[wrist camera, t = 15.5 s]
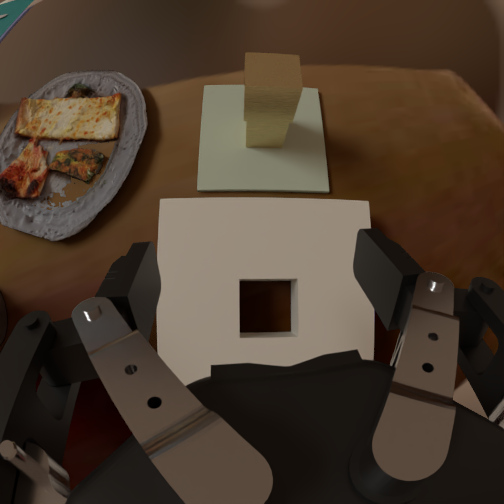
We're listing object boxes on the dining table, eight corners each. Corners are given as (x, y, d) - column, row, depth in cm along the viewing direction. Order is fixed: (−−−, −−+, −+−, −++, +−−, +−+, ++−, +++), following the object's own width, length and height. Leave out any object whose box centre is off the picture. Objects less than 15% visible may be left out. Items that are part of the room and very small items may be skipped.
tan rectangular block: (242, 147, 33) (244, 85, 22) (243, 117, 33) (245, 52, 22) (284, 148, 33) (302, 88, 22) (283, 118, 33) (299, 55, 22)
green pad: (197, 191, 32) (197, 189, 32) (204, 88, 34) (204, 85, 34) (327, 193, 33) (329, 191, 32) (316, 91, 35) (317, 88, 34)
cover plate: (170, 398, 29) (161, 411, 25) (169, 210, 32) (160, 198, 28) (356, 392, 30) (370, 403, 26) (354, 211, 33) (368, 201, 29)
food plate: (-23, 217, 31) (-37, 211, 27) (37, 81, 34) (28, 69, 31) (112, 259, 32) (99, 255, 28) (174, 85, 35) (170, 69, 32)
